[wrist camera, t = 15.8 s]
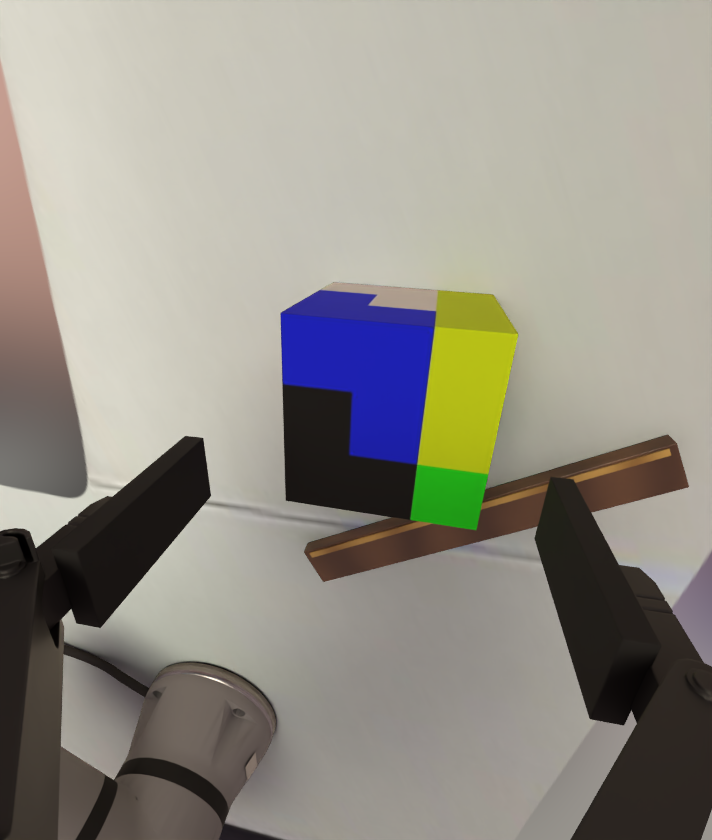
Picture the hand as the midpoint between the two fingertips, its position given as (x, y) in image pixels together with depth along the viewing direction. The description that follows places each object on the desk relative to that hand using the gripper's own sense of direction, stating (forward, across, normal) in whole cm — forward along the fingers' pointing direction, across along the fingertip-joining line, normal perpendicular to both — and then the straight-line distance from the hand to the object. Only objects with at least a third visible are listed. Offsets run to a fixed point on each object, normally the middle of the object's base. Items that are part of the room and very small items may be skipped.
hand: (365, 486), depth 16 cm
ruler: (+15, +6, -11) cm, 19 cm away
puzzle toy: (+15, 0, 0) cm, 15 cm away
